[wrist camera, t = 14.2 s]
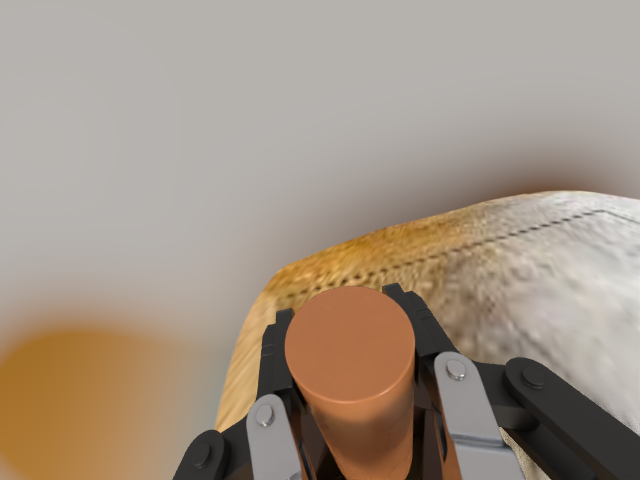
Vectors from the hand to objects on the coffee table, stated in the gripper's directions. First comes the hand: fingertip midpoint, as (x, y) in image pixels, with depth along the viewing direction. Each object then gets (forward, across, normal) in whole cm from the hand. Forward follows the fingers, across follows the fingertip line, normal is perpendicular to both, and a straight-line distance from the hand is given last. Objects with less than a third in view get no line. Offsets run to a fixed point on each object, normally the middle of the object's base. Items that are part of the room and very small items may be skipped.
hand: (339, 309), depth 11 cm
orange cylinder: (-3, 0, +8) cm, 8 cm away
